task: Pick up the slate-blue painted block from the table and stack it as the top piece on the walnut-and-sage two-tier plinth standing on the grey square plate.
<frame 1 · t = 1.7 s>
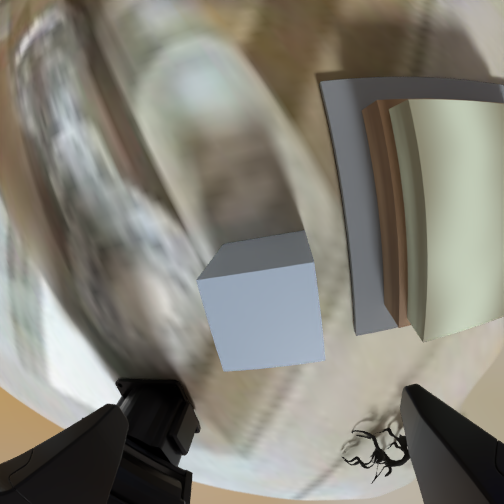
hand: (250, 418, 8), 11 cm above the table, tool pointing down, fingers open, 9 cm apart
grey square plate: (455, 199, 16), on the table
top block: (270, 275, 19), on the table
creature: (376, 440, 23), on the table
plinth: (483, 207, 12), on the grey square plate, point 3 cm above the table
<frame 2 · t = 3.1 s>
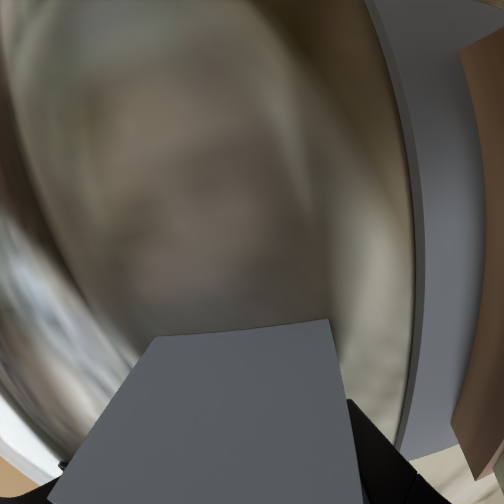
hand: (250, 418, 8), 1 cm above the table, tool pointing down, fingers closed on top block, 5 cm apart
top block: (253, 395, 9), on the table, touching gripper
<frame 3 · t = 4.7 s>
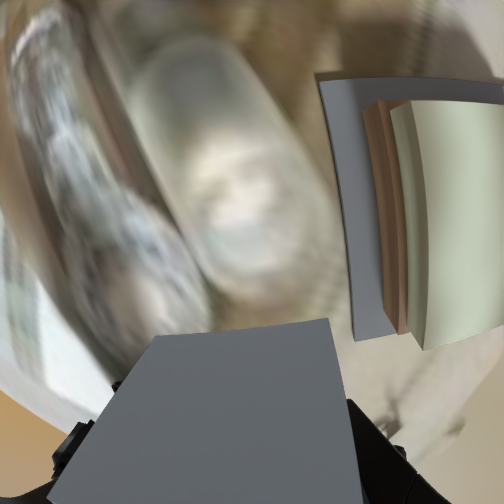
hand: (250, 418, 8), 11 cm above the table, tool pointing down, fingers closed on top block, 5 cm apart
grey square plate: (457, 203, 15), on the table
top block: (253, 394, 9), point 10 cm above the table, touching gripper
plinth: (486, 212, 12), on the grey square plate, point 3 cm above the table
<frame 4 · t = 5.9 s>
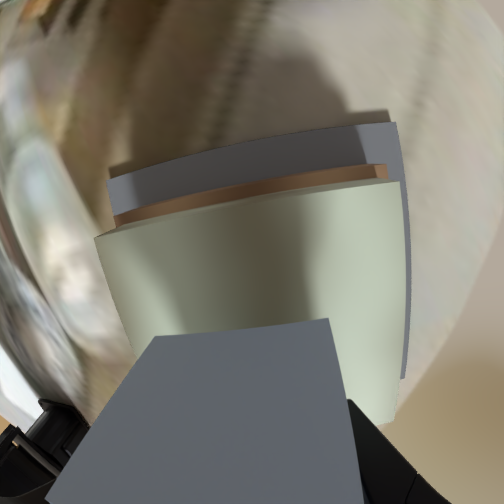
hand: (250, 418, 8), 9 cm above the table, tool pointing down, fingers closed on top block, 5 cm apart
grey square plate: (271, 289, 17), on the table
top block: (253, 395, 8), point 8 cm above the table, touching gripper
plinth: (267, 318, 13), on the grey square plate, point 3 cm above the table
when the fingers open (9 cm above the table, at t = 6.4 s): top block drops 1 cm, resting on plinth.
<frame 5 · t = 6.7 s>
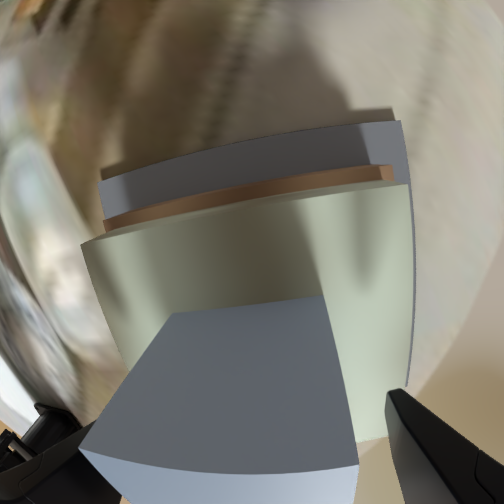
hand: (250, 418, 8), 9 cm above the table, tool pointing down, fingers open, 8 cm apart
grey square plate: (269, 296, 16), on the table
top block: (258, 367, 10), point 6 cm above the table, touching plinth
plinth: (264, 328, 13), on the grey square plate, point 3 cm above the table
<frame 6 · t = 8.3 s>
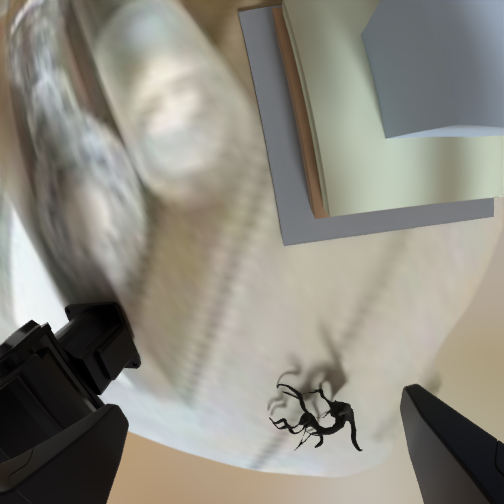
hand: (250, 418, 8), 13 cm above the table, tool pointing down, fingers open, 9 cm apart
grey square plate: (385, 106, 16), on the table
top block: (423, 84, 10), point 6 cm above the table, touching plinth
creature: (309, 403, 23), on the table
plinth: (403, 96, 12), on the grey square plate, point 3 cm above the table
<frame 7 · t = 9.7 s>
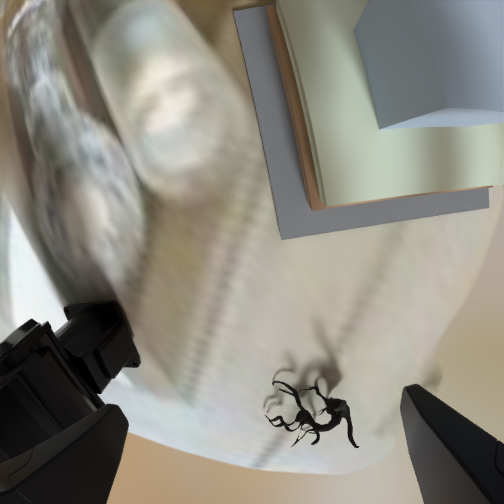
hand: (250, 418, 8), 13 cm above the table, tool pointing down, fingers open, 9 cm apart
grey square plate: (378, 100, 16), on the table
top block: (415, 76, 10), point 6 cm above the table, touching plinth
creature: (305, 401, 24), on the table
plinth: (396, 89, 13), on the grey square plate, point 3 cm above the table
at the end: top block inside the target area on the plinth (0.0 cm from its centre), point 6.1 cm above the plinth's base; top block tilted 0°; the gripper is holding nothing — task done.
